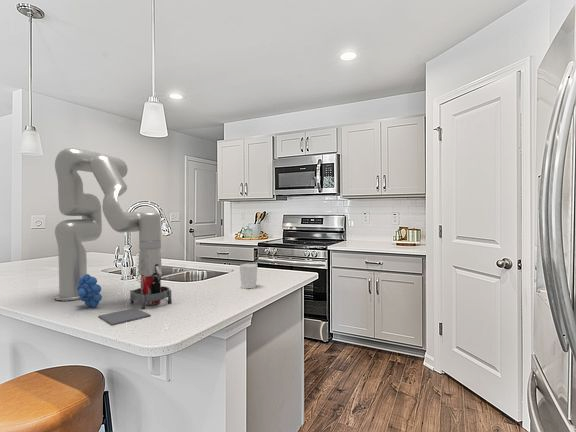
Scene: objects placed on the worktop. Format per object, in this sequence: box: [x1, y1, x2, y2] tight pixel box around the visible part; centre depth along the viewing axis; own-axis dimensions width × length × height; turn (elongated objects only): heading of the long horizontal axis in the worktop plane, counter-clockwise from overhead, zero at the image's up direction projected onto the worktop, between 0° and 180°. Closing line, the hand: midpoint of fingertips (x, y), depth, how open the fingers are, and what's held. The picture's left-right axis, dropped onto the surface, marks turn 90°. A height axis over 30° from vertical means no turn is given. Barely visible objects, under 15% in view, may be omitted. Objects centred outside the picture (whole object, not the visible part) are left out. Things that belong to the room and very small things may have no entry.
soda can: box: [140, 273, 162, 306], centre depth 125 cm, size 7×7×12 cm
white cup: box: [239, 263, 258, 289], centre depth 151 cm, size 8×8×10 cm
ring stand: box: [129, 285, 173, 310], centre depth 125 cm, size 13×13×5 cm
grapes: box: [77, 273, 103, 308], centre depth 120 cm, size 12×7×12 cm, turn 67°
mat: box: [98, 307, 152, 326], centre depth 110 cm, size 12×12×1 cm
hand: (150, 292), depth 125 cm, fingers closed on soda can, 7 cm apart
